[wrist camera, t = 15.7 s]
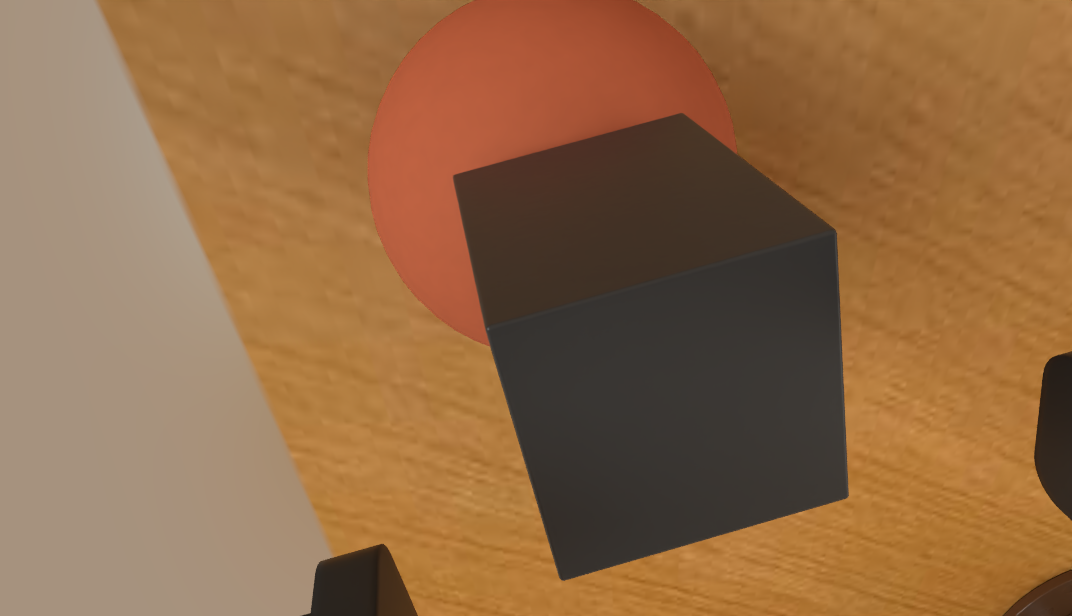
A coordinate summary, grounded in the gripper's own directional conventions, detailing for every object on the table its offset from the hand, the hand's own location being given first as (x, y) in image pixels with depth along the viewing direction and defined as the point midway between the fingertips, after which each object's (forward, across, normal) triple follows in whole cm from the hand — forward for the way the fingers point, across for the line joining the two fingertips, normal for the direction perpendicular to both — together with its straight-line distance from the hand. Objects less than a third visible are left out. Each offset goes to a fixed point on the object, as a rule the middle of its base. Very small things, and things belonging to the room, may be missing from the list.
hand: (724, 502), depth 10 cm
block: (+8, 0, 0) cm, 8 cm away
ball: (+18, 0, 0) cm, 18 cm away
